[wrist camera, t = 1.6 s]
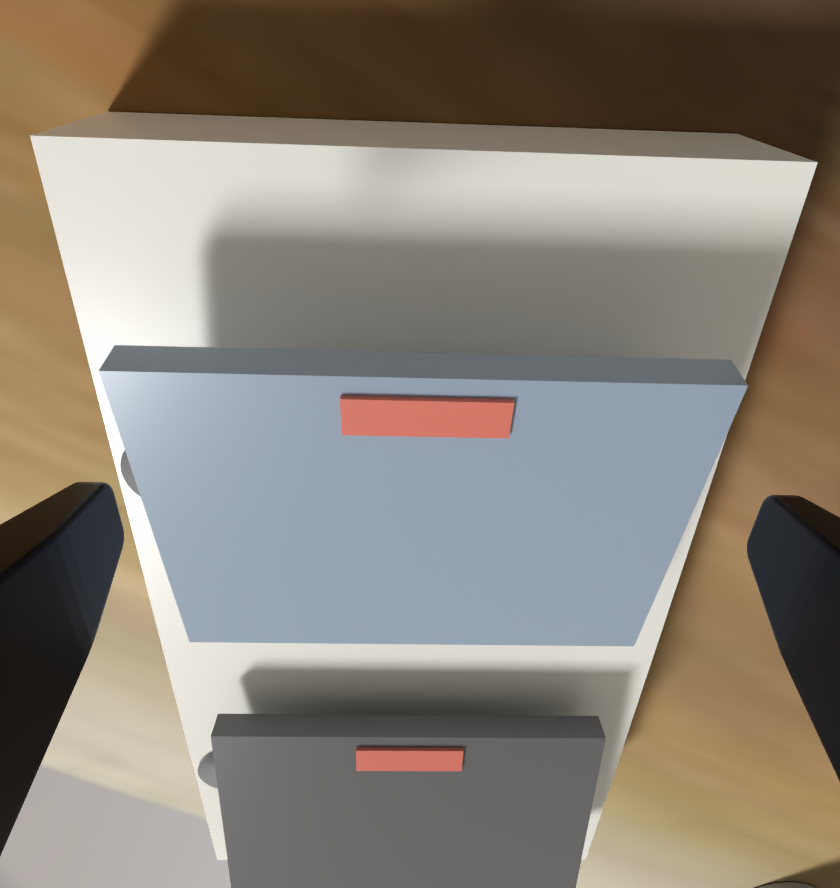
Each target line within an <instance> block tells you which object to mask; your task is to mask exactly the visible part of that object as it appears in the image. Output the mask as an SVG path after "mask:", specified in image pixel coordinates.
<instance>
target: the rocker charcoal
mask: <svg viewBox="0 0 840 888" xmlns="http://www.w3.org/2000/svg"><path fill="white" fill-rule="evenodd" d="M605 740H606V737H605V734H604V731H603V728H602V725H601V722H600V719H599V716H527V715H364V714H218V715H217V718H216V721H215V724H214V728H213V731H212V734H211V743H212V750H213V757H214V764H215V772H216V779H217V786H218V794H219V801H220V808H221V815H222V823H223V830H224V837H225V844H226V852H227V859H228V866H229V873H230V881H231V888H575V887H576V883H577V878H578V873H579V868H580V863H581V858H582V853H583V848H584V843H585V838H586V833H587V829H588V824H589V819H590V814H591V809H592V804H593V799H594V794H595V789H596V784H597V779H598V775H599V770H600V765H601V760H602V755H603V750H604V745H605Z"/></svg>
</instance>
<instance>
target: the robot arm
mask: <svg viewBox="0 0 840 888" xmlns="http://www.w3.org/2000/svg"><path fill="white" fill-rule="evenodd" d="M123 542H124V530H123V526H122V522H121V518H120V515H119V511H118V507H117V503H116V500H115V496H114V492H113V490H112V488H111V487H110V485H108V484H107V483H104V482H77V483H74V484H72V485H70V486H68V487H67V488H65V489H63V490H61V491H59V492H58V493H56V494H54V495H52V496H51V497H49V498H47V499H45V500H43V501H42V502H40V503H38V504H36V505H35V506H33V507H31V508H29V509H27V510H26V511H24V512H22V513H20V514H18V515H17V516H15V517H13V518H11V519H10V520H8V521H6V522H4V523H2V524H1V525H0V856H1V853H2V851H3V849H4V846H5V844H6V842H7V839H8V837H9V835H10V832H11V830H12V828H13V826H14V824H15V821H16V819H17V817H18V814H19V812H20V810H21V808H22V805H23V803H24V801H25V798H26V796H27V794H28V792H29V789H30V787H31V785H32V783H33V780H34V778H35V776H36V773H37V771H38V769H39V767H40V764H41V762H42V760H43V757H44V755H45V753H46V751H47V748H48V746H49V744H50V741H51V739H52V737H53V735H54V732H55V730H56V728H57V725H58V723H59V721H60V719H61V716H62V714H63V712H64V710H65V707H66V705H67V703H68V700H69V698H70V696H71V694H72V691H73V689H74V687H75V684H76V682H77V680H78V678H79V675H80V673H81V671H82V668H83V666H84V664H85V662H86V659H87V657H88V654H89V652H90V649H91V647H92V644H93V642H94V639H95V636H96V633H97V630H98V627H99V623H100V620H101V617H102V613H103V610H104V607H105V604H106V600H107V597H108V594H109V590H110V587H111V584H112V581H113V577H114V574H115V571H116V567H117V564H118V561H119V558H120V554H121V551H122V548H123ZM747 554H748V558H749V562H750V565H751V568H752V571H753V573H754V576H755V579H756V582H757V585H758V588H759V591H760V594H761V597H762V600H763V603H764V606H765V609H766V612H767V615H768V618H769V621H770V624H771V627H772V630H773V633H774V636H775V639H776V641H777V644H778V647H779V649H780V652H781V655H782V657H783V659H784V661H785V664H786V666H787V668H788V671H789V673H790V675H791V677H792V679H793V681H794V684H795V686H796V688H797V690H798V692H799V694H800V697H801V699H802V701H803V703H804V705H805V707H806V710H807V712H808V714H809V716H810V718H811V720H812V723H813V725H814V727H815V729H816V731H817V733H818V735H819V738H820V740H821V742H822V744H823V746H824V748H825V751H826V753H827V755H828V757H829V759H830V761H831V764H832V766H833V768H834V770H835V772H836V774H837V777H838V779H839V781H840V517H838V516H836V515H834V514H832V513H830V512H829V511H827V510H825V509H823V508H821V507H819V506H818V505H816V504H814V503H812V502H810V501H808V500H806V499H805V498H803V497H800V496H795V495H771V496H769V497H767V498H766V499H765V500H764V501H763V503H762V505H761V508H760V510H759V513H758V516H757V518H756V521H755V523H754V526H753V528H752V531H751V533H750V536H749V539H748V543H747Z"/></svg>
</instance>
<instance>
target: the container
mask: <svg viewBox="0 0 840 888" xmlns="http://www.w3.org/2000/svg"><path fill="white" fill-rule="evenodd" d="M758 888H815V887H813V886H811V885H808V884H804V883H797V882H782V883H774V884H769V885H764V886H761V887H758Z"/></svg>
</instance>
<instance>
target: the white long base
mask: <svg viewBox="0 0 840 888" xmlns="http://www.w3.org/2000/svg"><path fill="white" fill-rule="evenodd" d="M30 137H31V141H32V145H33V149H34V153H35V156H36V160H37V164H38V168H39V172H40V176H41V180H42V184H43V187H44V191H45V195H46V199H47V203H48V207H49V211H50V215H51V218H52V222H53V226H54V230H55V234H56V238H57V242H58V246H59V249H60V253H61V257H62V261H63V265H64V269H65V273H66V276H67V280H68V284H69V288H70V292H71V296H72V300H73V304H74V307H75V311H76V315H77V319H78V323H79V327H80V331H81V335H82V338H83V342H84V346H85V350H86V354H87V358H88V362H89V366H90V369H91V373H92V377H93V381H94V385H95V389H96V393H97V397H98V400H99V404H100V408H101V412H102V416H103V420H104V424H105V428H106V431H107V435H108V439H109V443H110V447H111V451H112V455H113V458H114V462H115V466H116V470H117V474H118V478H119V482H120V486H121V489H122V493H123V497H124V501H125V505H126V509H127V513H128V517H129V520H130V524H131V528H132V532H133V536H134V540H135V544H136V548H137V551H138V555H139V559H140V563H141V567H142V571H143V575H144V579H145V582H146V586H147V590H148V594H149V598H150V602H151V606H152V610H153V613H154V617H155V621H156V625H157V629H158V633H159V637H160V640H161V644H162V648H163V652H164V656H165V660H166V664H167V668H168V671H169V675H170V679H171V683H172V687H173V691H174V695H175V699H176V702H177V706H178V710H179V714H180V718H181V722H182V726H183V730H184V733H185V737H186V741H187V745H188V749H189V753H190V757H191V761H192V764H193V768H194V772H195V776H196V780H197V784H198V788H199V792H200V795H201V799H202V803H203V807H204V811H205V815H206V819H207V822H208V826H209V830H210V834H211V838H212V841H213V846H214V850H215V853H216V857H217V860H228V859H227V852H226V844H225V837H224V830H223V823H222V815H221V808H220V801H219V794H218V786H217V779H216V772H215V764H214V757H213V750H212V743H211V734H212V731H213V728H214V724H215V721H216V718H217V715H218V714H364V715H527V716H599V719H600V722H601V725H602V728H603V731H604V734H605V737H606V740H605V745H604V750H603V755H602V760H601V765H600V770H599V775H598V779H597V784H596V789H595V794H594V799H593V804H592V809H591V814H590V819H589V824H588V829H587V833H586V838H585V843H584V848H583V853H582V858H581V860H586V857H587V854H588V851H589V848H590V845H591V842H592V839H593V836H594V833H595V830H596V827H597V824H598V821H599V818H600V815H601V812H602V809H603V806H604V803H605V800H606V797H607V794H608V791H609V788H610V785H611V782H612V779H613V776H614V773H615V770H616V767H617V764H618V761H619V758H620V755H621V752H622V749H623V746H624V743H625V740H626V737H627V734H628V731H629V728H630V725H631V722H632V719H633V716H634V713H635V710H636V707H637V704H638V701H639V698H640V695H641V692H642V689H643V686H644V683H645V680H646V677H647V674H648V671H649V668H650V665H651V662H652V659H653V656H654V653H655V650H656V647H657V644H658V641H659V638H660V635H661V632H662V629H663V626H664V623H665V620H666V617H667V614H668V611H669V608H670V605H671V602H672V599H673V596H674V593H675V590H676V587H677V584H678V581H679V578H680V575H681V572H682V569H683V566H684V563H685V560H686V557H687V554H688V551H689V548H690V545H691V542H692V539H693V536H694V533H695V530H696V527H697V524H698V521H699V518H700V515H701V512H702V509H703V506H704V503H705V500H706V497H707V494H708V491H709V488H710V485H711V482H712V479H713V476H714V473H715V470H716V467H717V464H718V461H719V458H720V455H721V452H722V449H723V446H724V443H725V440H726V437H727V435H726V437H725V440H724V442H723V444H722V447H721V449H720V451H719V453H718V456H717V458H716V460H715V463H714V465H713V467H712V469H711V472H710V474H709V476H708V479H707V481H706V483H705V485H704V488H703V490H702V492H701V495H700V497H699V499H698V501H697V504H696V506H695V508H694V510H693V513H692V515H691V517H690V520H689V522H688V524H687V526H686V529H685V531H684V533H683V536H682V538H681V540H680V542H679V545H678V547H677V549H676V552H675V554H674V556H673V558H672V561H671V563H670V565H669V568H668V570H667V572H666V574H665V577H664V579H663V581H662V584H661V586H660V588H659V590H658V593H657V595H656V597H655V600H654V602H653V604H652V606H651V609H650V611H649V613H648V616H647V618H646V620H645V622H644V625H643V627H642V629H641V632H640V634H639V636H638V638H637V641H636V643H635V645H634V646H538V645H433V644H329V643H225V642H189V639H188V636H187V633H186V630H185V627H184V624H183V621H182V618H181V615H180V612H179V609H178V606H177V603H176V600H175V597H174V594H173V592H172V589H171V586H170V583H169V580H168V577H167V574H166V571H165V568H164V565H163V562H162V559H161V556H160V553H159V550H158V547H157V544H156V541H155V538H154V535H153V532H152V529H151V526H150V523H149V520H148V517H147V514H146V511H145V508H144V505H143V502H142V499H141V496H140V493H139V490H138V487H137V484H136V481H135V478H134V475H133V472H132V469H131V466H130V463H129V460H128V457H127V454H126V451H125V448H124V446H123V443H122V440H121V437H120V434H119V431H118V428H117V425H116V422H115V419H114V416H113V413H112V410H111V407H110V404H109V401H108V398H107V395H106V392H105V389H104V386H103V383H102V380H101V377H100V374H99V369H100V368H101V366H102V364H103V363H104V361H105V360H106V358H107V356H108V355H109V353H110V352H111V350H112V348H113V347H114V345H135V346H177V347H218V348H260V349H302V350H344V351H386V352H428V353H470V354H511V355H553V356H595V357H637V358H679V359H721V360H732V362H733V363H734V365H735V366H736V368H737V369H738V371H739V372H740V374H741V376H742V377H743V379H744V380H745V379H746V376H747V373H748V370H749V367H750V364H751V361H752V358H753V355H754V352H755V349H756V346H757V343H758V340H759V337H760V334H761V331H762V328H763V325H764V322H765V319H766V316H767V313H768V310H769V307H770V304H771V301H772V298H773V295H774V292H775V289H776V286H777V283H778V280H779V277H780V274H781V271H782V268H783V265H784V262H785V259H786V256H787V253H788V250H789V247H790V244H791V241H792V238H793V235H794V232H795V229H796V226H797V223H798V220H799V217H800V214H801V211H802V208H803V205H804V202H805V199H806V196H807V193H808V190H809V187H810V184H811V181H812V178H813V175H814V172H815V169H816V166H817V163H818V162H816V161H813V160H810V159H807V158H804V157H801V156H799V155H796V154H793V153H790V152H787V151H784V150H782V149H779V148H776V147H773V146H770V145H767V144H765V143H762V142H759V141H756V140H753V139H751V138H748V137H745V136H742V135H739V134H730V133H702V132H673V131H645V130H617V129H588V128H560V127H531V126H503V125H474V124H446V123H418V122H389V121H361V120H332V119H304V118H275V117H247V116H218V115H190V114H162V113H133V112H103V113H100V114H97V115H94V116H91V117H88V118H84V119H81V120H78V121H75V122H72V123H69V124H65V125H62V126H59V127H56V128H53V129H49V130H46V131H43V132H40V133H37V134H34V135H30ZM727 434H728V433H727Z"/></svg>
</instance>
